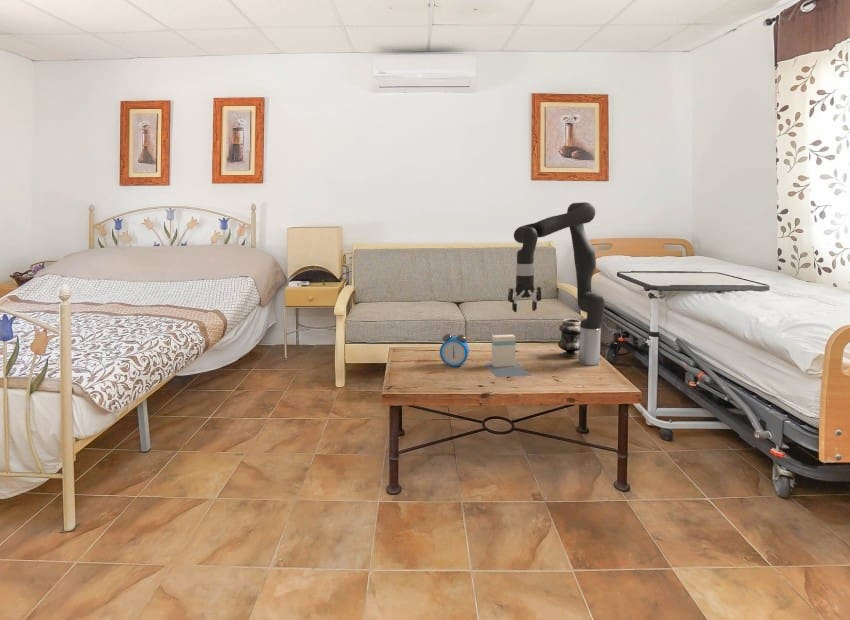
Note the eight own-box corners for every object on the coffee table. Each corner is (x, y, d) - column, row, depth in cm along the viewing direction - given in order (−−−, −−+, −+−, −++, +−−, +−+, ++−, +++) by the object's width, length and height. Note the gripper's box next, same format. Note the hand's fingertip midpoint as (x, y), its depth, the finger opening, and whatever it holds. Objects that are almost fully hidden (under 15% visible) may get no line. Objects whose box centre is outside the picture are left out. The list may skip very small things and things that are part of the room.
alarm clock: (439, 366, 246) (439, 335, 243) (442, 362, 252) (441, 332, 249) (467, 368, 243) (467, 336, 240) (469, 364, 249) (469, 333, 246)
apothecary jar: (585, 359, 256) (587, 322, 253) (560, 359, 257) (562, 322, 253) (579, 352, 268) (580, 317, 265) (555, 352, 269) (556, 317, 265)
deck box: (491, 364, 247) (491, 335, 244) (512, 363, 248) (513, 334, 246) (493, 367, 243) (494, 337, 240) (515, 365, 244) (515, 336, 242)
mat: (483, 364, 249) (483, 363, 249) (516, 362, 251) (516, 361, 251) (496, 378, 228) (496, 377, 228) (532, 376, 230) (532, 375, 230)
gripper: (537, 272, 230) (536, 308, 233) (506, 273, 228) (505, 310, 231) (544, 274, 223) (543, 311, 226) (512, 275, 220) (511, 313, 224)
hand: (524, 311), depth 228 cm, fingers open, 8 cm apart
